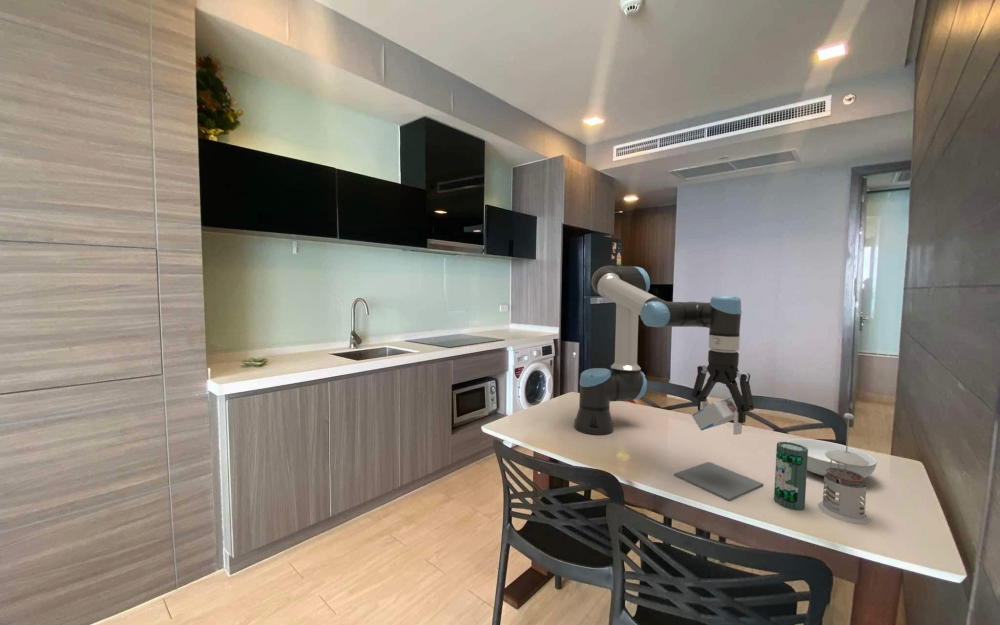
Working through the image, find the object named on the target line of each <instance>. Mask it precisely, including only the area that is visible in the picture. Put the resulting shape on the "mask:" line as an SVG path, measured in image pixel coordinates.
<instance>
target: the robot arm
mask: <svg viewBox="0 0 1000 625" xmlns="http://www.w3.org/2000/svg"><path fill="white" fill-rule="evenodd" d="M650 286H651V281H650V277H649V274H648V272H647V271H646V270H645V269H644V268H642V267H640V266H632V265H605V266H602V267H599V268H598V269H596V271H595V272H593V275H592V278H591V287H592V289H593V291H594V292H595V293H597V295H599V296H600V297H602V298H606V299H608V298H609V299H612V301H613V302H614V303H615V305H616V307H615V338H614V339H615V340H614V343H615V345H614V363H613V364H611V365H610V369H608V368H605V367H599V368H598V367H595V368H588V369H585V370H583V371H582V372H581V373H580V378H579V407H578V411H577V414H576V417H575V419H574V429H575V430H577V431H579V432H580V433H583V434H589V435H594V436H595V435H597V436H599V435H601V436H604V435H609V434H611V433H613V432H614V430H615V429H614V422H613V419H612V418H613V417H612V416H611V411H610V405H611V404H610V402H623V401H625V402H626V401H627V402H630V401H636V400H639V399H641V398H642V397H643V396H644V395H645V394H646V391H647V388H648V387H647V386H648V380H647V378H646V375H645V373H644V372H643V371H642V370H641V369H642V368H641V367H640V365H639V364H638V347H639V346H638V340H639V339H638V338H639V337H638V336H639V316H640V319H641V321H642V323H643V324H644V325H645V326H646V327H649V328H650V327H651V328H652V327H653V328H667V327H668V328H675V327H676V328H677V327H680V328H683V327H694V328H695V327H698V328H708V330H709V332H708V348H709V350H708V353H707V362H708V365H707V366H706V365H699V366H697V367H696V368H697V369H696V370H697V375H696V378H695V382H694V386H693V389H692V393H691V397H692V398H695V399H696V400H697V412H698V411H700V410H701V409H703V408H705V407H706V406H708V405H709V400H708V399H707V398H708V396H709V395H710V393H711V391H712V390H713V389H714V387H715V385H716V384H717V383H720V384H724V385H725V386H726V388H727V389H728V391H729V394H730V395H731V398H733V400H734V403H735V405H736V407H737V410H736V411H734V419H733V430H732V431H733V435H735V436H737V435H738V436H739V435H741V434H742V432H743V431H742V430H743V424H745V423H746V418H747V412H750V411H753V410H755V406H754V400H753V396H752V391H751V385H750V378H751V374H750V373H749V372H747V373H744V372H740V371H739V368H738V367H739V362H740V360H739V358H740V353H739V352H738V351H739V350H740V340H741V338H740V335H741V333H740V332H741V320H742V318H741V317H742V301H741V298H740V297H738V296H726V295H725V296H724V295H723V296H721V295H720V296H718V295H717V296H716V295H715V296H711V298H710V301H709V302H704V301H703V302H701V301H666V300H664V299H661V298H659V297H657V296H656V295H653V294H651V293H649V290H650ZM707 373H708V374H709V376H708V378H707V380H706V377H707ZM736 378H737V379H738V381H739V387H740V389H739V387H738V382H737V379H736ZM705 380H706V383H705ZM704 383H705V385H704ZM740 391H741V392H740Z"/></svg>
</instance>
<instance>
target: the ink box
mask: <svg viewBox="0 0 1000 625" xmlns="http://www.w3.org/2000/svg"><path fill="white" fill-rule="evenodd" d="M736 410H737V407H736V405H735V403H734V400H733V398H732V397H730V398H725V399H721V400H717V401H713V402H711V403H709V404H708V406H706V407H705V408H703V409H701V410H700V411H698V410H697V412H695V413H693V414H692V415H691V417H692V418H693V420H694V421H695V424H696V425H697V427H698V428H699V430H700V431H704V430H707V429H711V428H715V427H718V426H720V425H724V424H726V423H730V422H731V421H734V411H736Z"/></svg>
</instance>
